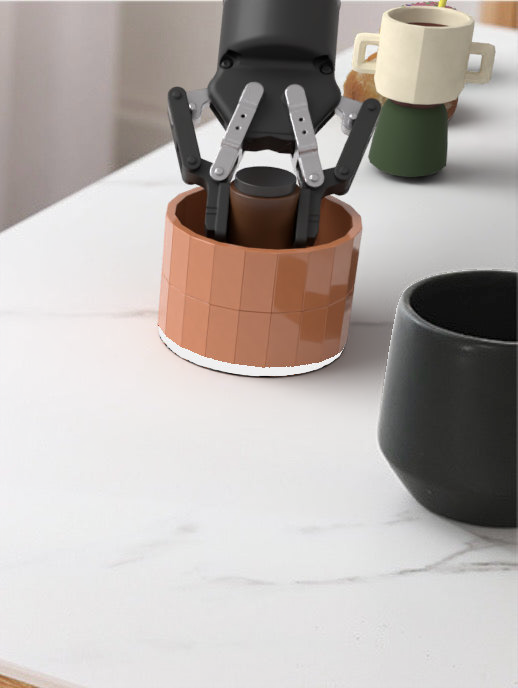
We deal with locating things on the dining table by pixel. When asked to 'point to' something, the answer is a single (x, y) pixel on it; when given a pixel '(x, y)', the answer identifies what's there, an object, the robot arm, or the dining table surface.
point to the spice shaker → (263, 208)
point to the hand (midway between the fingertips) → (259, 245)
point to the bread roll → (374, 88)
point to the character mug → (419, 83)
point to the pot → (258, 289)
